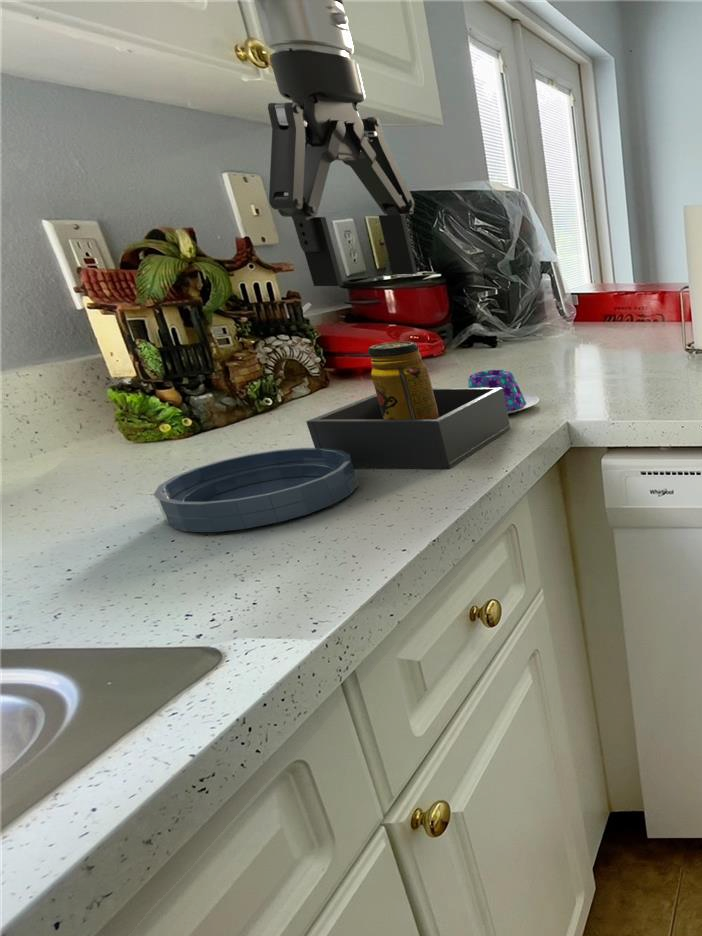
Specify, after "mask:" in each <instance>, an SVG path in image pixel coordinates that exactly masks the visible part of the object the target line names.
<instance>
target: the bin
mask: <svg viewBox="0 0 702 936" xmlns="http://www.w3.org/2000/svg"><path fill="white" fill-rule="evenodd" d="M432 389H433V393H434V398H435V401H436V405H437V410H438V414H439V418H437V419H383V416H382V412H381V408H380V405H379V401H378V397H377V394H376V393H374V394H372V395H369V396H366V397H363V398H362V399H360V400H357V401H354V402H352V403H349V404H346V405H344V406H341V407H339V408H336V409H334V410H331V411H328V412H326V413H324V414H321V415H318V416H317V417H313V418H310V419H308V420H306V421H305V422H306V426H307V428H308V429H307V430H308V431H309V435H310V438H311V440H312V444H313V448H329V449H336V450H342V451H344V452H346V453H348V454H350V455H351V459H352V462H353V465H354V468H355V469H405V470H406V469H413V470H415V469H417V470H418V469H421V470H422V469H423V470H426V469H427V470H428V469H429V470H432V469H433V470H441V469H442V470H450V469H452V468H453V467H455V466H457V465H459V464H460V463H461V462H462V461H464V460H465V459H467V458H469V457H470V456H472V455H473V454H475V453H476V452H478V451H479V450H481V449H483V448H485V446H488V445H489V444H491V443H492V442H493V441H494V440H496V439H498V438H499V437H501V436H502V435H505V433H507V432H509V431H510V430H511V429H512V427H511V423H510V418H509V414H508V413H507V408H506V403H505V398H504V393H503V388H468V387H432Z"/></svg>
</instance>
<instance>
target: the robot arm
mask: <svg viewBox="0 0 702 936" xmlns="http://www.w3.org/2000/svg"><path fill="white" fill-rule="evenodd" d="M253 3H254V7H255V11H256V14H257V19H258V22H259V27H260V29H261V30H260V31H261V33H262V37H263V41H264V44H265V45H266V46H267V47H268V48H269V49H271V50H273V51H274V52H273V53H272V54H271V56H270V57H269V60H270V64H271V67H272V71H273V74H274V78H275V82H276V85H277V90H278V92H279V94H280V95H281V97H283V98H284V99H286V100H289V101H291V102H269V103H268V104H267V111H268V116H269V120H270V125H271V148H270V167H269V168H270V169H269V170H270V171H269V189H268V190H269V191H268V203H269V205H270V207H271V208H272V209H273V210H277V211H278V214H279V215H280V216H281V217H282V218H283V217H285V218H286V217H287V218H288V217H289V218H292V221H293V225H294V228H295V232H296V235H297V239H298V241H299V245H300V246H299V247H300V248H301V251H302V252H304V256H305V259H306V263H307V267H308V270H309V273H310V277H311V281H312V284H313V287H341V286H344V281H343V278H342V274H341V271H340V270H341V269H340V267H339V266H340V265H339V263H338V259H337V255H336V251H335V248H334V245H333V241H332V237H331V233H330V229H329V225H328V222H327V219H326V216H317V215H318V212H319V208H320V204H321V201H322V197H323V194H324V189H325V186H326V182H327V177H328V174H329V170H330V167H331V164H332V163H333V162H335V161H341V162H342V163H343V164H345V165H346V166H348V167H350V168H351V169H352V171H353V172H354V173H355V175H356V176H357V178H358V179H359V180H360V182H361V184H362V185H363V186H364V188H365V189H366V190H367V192H368V193H369V195H370V196H371V197H372V199H373V201H374V202H375V203H376V205H377V206H378V207H379V209H380V210H381V211H382V213H383V215H382V214H379V215H377V216H378V219H379V223H380V227H381V232H382V236H383V240H384V244H385V248H386V249H385V250H386V254H387V257H388V261H389V267H390V270H391V273H392V275H417V274H418V270H417V265H416V261H415V257H414V252H413V247H412V244H411V238H410V233H409V229H408V224H407V221H406V215H413V214H414V208H415V205H416V203H415V200H414V198H413V196H412V194H411V192H410V190H409V187H408V186H407V183H406V181H405V179H404V177H403V175H402V173H401V171H400V169H399V165H397V162H396V160H395V158H394V156H393V154H392V152H391V150H390V147H389V146H388V145H389V144H388V143H387V142H386V139H385V135H384V132H383V128H382V124H381V122H380V119H379V118H378V117H377V116H360V114H359V112H358V109H357V105H358V104H359V103H362V102H364V101H365V99H366V94H365V90H364V86H363V81H362V80H363V79H362V76H361V72H360V68H359V63H357V62H356V60H355V59H353V58H350V55H353V53H354V52H355V49H354V45H353V40H352V36H351V32H350V28H349V19H348V16H347V14H346V12H345V6H344V1H343V0H253ZM285 193H286V194H287V195H285Z"/></svg>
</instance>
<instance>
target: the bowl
mask: <svg viewBox="0 0 702 936" xmlns="http://www.w3.org/2000/svg"><path fill="white" fill-rule="evenodd" d="M358 487H359V480H358V476H357V472H356V468H354V465H353V462H352V459H351V455H350V454H348V453H346V452H344V451H342V450H336V449H329V448H315V447H295V448H284V449H275V450H268V451H261V452H256V453H249V454H244V455H240V456H235V457H229V458H225V459H222V460H218V461H215V462H214V461H213V462H212V463H208V464H205V465H201V466H198V467H195V468H191V469H190V470H187V471H185V472H182V473H179V474H176V475H174V476H173V477H170V478H169V479H168V480H166V481H164V482H163V483H161V484H159V485H158V486H157V488H156V489H155V491H154V492H153V497H154V499H155V501H156V504H157V505H158V508H159V510H160V512H161V515H162V517H163V519H164V521H165V522H166V524H168V526H169V527H170V528H171V529H174V530H175V529H176V530H180V531H184V532H188V533H189V532H190V533H217V532H226V531H238V530H246V529H251V528H258V527H263V526H268V525H272V524H277V523H282V522H286V521H289V520H293V519H296V518H300V517H303V516H306V515H309V514H312V513H314V512H317V511H320V510H322V509H325V508H327V507H330V506H333V505H334V504H336V503H339V502H340V501H342V500H343V499H345V498H347V497H349V496H350V495H351V494H352V493H353V492H354V491H355V490H356V489H357V488H358Z"/></svg>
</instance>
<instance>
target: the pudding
mask: <svg viewBox="0 0 702 936" xmlns="http://www.w3.org/2000/svg"><path fill="white" fill-rule="evenodd" d="M467 388H503V393H504V398H505V403H506V408H507V413H508V415H509V414H514V413H517V412H521V411H522V410H525V409H529V408H530V407H533V406H534V405H536V404H537V403H539V401H540V399H539V397H538V396H536V395H533V394H528V393H522V391H521V389H520V386H519V383H518V382H517V380H516V378H515V376H514V374H513V373H512V372H511V371H509V370H506V369H490V370H482V371H478V372H476V373H472V374H470V375H469V376H468V387H467Z"/></svg>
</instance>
